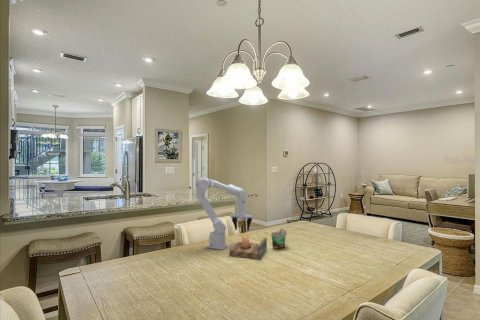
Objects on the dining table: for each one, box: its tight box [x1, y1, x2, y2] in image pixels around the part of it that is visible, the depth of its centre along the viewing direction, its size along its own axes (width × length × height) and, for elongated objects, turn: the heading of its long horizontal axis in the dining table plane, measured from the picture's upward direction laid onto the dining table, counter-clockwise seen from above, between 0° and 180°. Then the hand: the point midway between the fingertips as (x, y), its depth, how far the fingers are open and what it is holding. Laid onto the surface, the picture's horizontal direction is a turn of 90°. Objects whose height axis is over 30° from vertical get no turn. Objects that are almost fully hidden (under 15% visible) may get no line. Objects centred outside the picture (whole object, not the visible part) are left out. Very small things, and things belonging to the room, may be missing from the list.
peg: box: [241, 235, 250, 249], centre depth 151 cm, size 4×4×9 cm
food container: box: [271, 228, 288, 250], centre depth 159 cm, size 12×6×10 cm, turn 143°
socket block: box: [229, 237, 268, 260], centre depth 151 cm, size 18×16×7 cm
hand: (242, 229), depth 165 cm, fingers open, 7 cm apart
